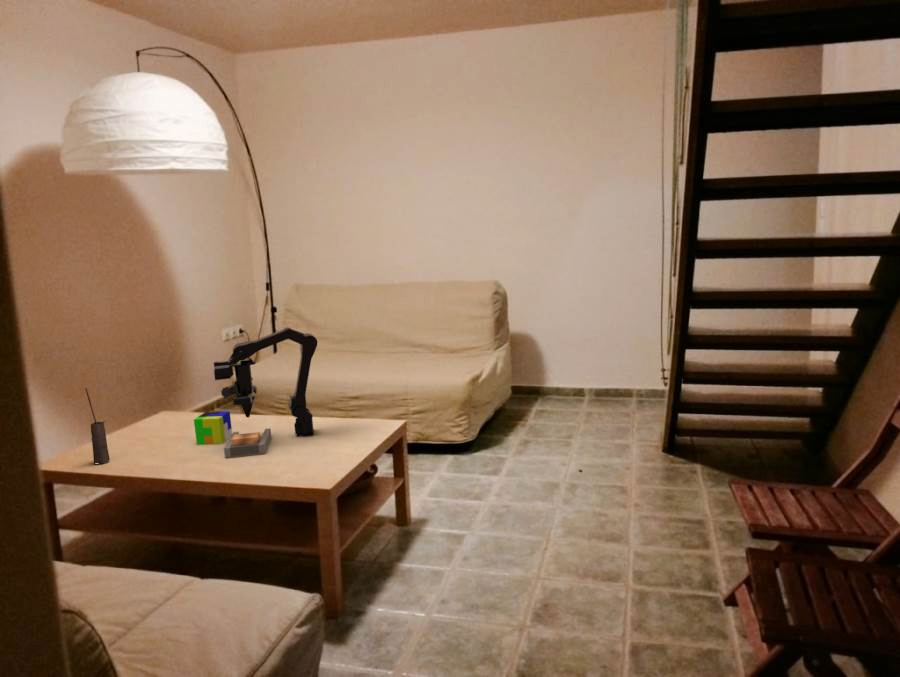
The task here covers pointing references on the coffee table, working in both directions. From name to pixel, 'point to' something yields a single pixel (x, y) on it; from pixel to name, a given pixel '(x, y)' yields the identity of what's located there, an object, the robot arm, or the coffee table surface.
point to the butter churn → (98, 439)
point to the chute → (248, 446)
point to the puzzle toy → (213, 427)
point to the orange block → (245, 439)
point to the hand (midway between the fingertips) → (247, 417)
